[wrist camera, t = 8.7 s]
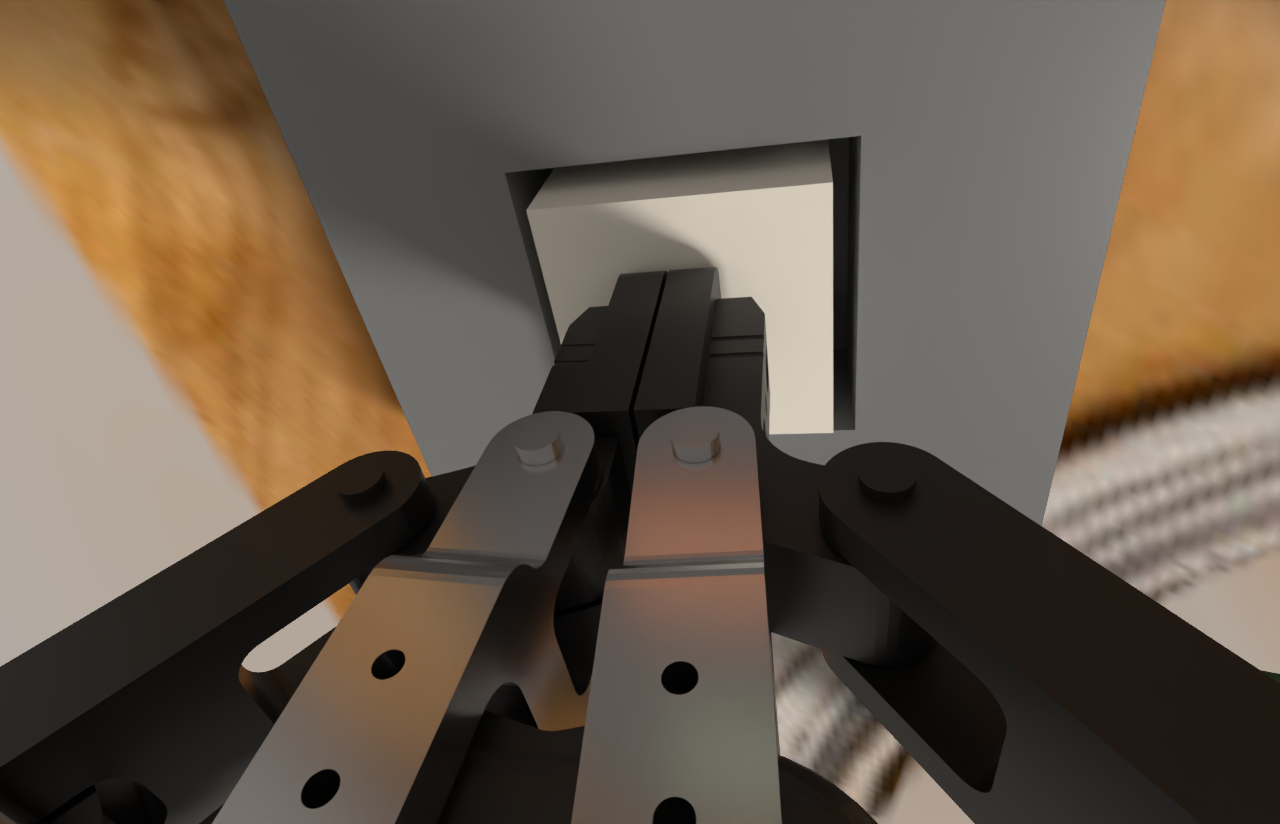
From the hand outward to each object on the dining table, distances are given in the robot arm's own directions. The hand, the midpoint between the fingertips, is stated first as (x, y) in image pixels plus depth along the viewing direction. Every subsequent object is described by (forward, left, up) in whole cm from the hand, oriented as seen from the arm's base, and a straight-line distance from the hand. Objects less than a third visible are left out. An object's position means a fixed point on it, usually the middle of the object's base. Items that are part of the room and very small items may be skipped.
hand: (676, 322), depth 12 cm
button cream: (0, 0, -3) cm, 3 cm away
